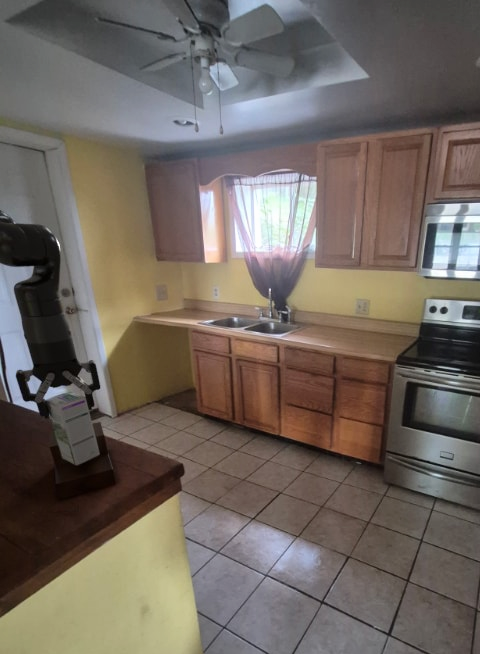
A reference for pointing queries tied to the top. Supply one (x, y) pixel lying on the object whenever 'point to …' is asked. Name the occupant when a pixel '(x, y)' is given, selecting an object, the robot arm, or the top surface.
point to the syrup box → (73, 427)
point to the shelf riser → (82, 468)
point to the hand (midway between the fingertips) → (69, 412)
